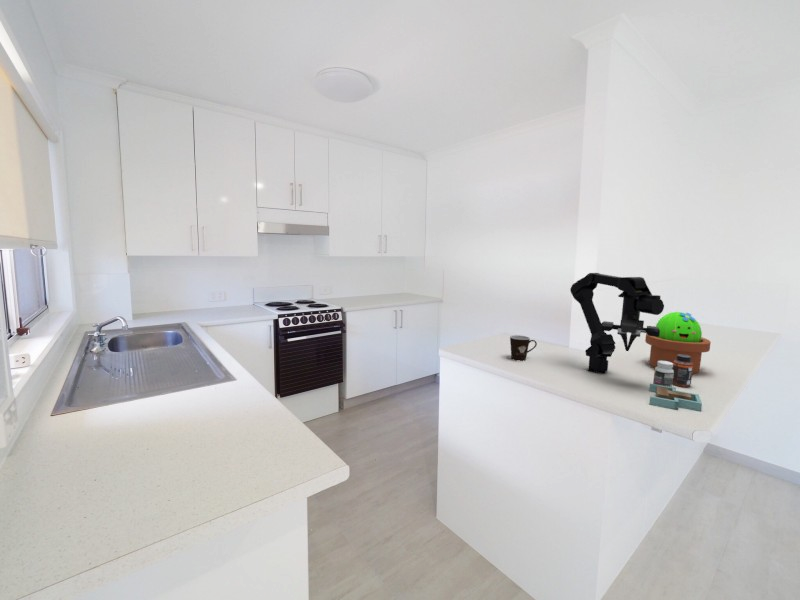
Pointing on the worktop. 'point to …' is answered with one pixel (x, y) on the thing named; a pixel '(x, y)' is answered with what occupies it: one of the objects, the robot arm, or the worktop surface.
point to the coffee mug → (520, 347)
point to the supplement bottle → (682, 371)
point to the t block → (671, 394)
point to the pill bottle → (663, 374)
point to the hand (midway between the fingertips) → (627, 350)
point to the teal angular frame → (675, 400)
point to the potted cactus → (677, 340)
